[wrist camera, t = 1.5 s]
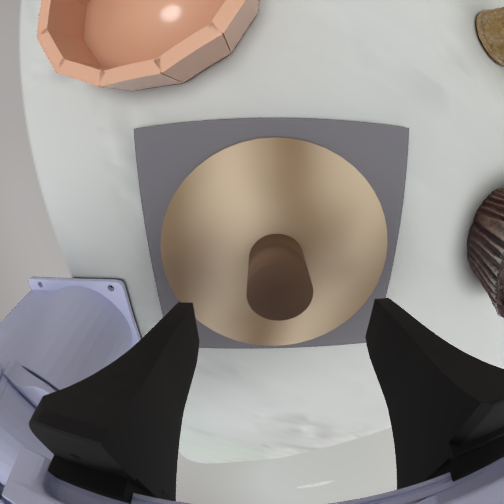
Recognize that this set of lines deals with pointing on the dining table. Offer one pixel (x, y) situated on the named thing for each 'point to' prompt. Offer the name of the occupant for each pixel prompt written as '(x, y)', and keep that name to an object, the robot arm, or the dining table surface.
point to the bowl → (140, 38)
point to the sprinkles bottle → (492, 32)
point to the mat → (238, 130)
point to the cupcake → (489, 248)
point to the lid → (274, 241)
